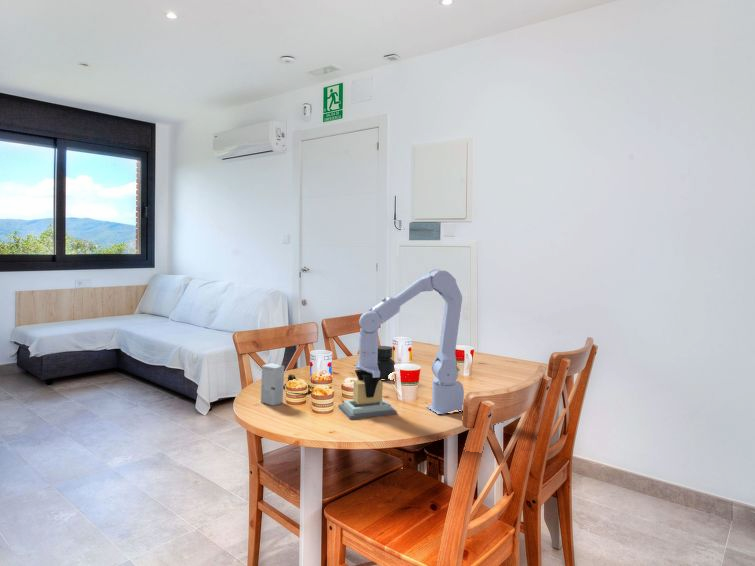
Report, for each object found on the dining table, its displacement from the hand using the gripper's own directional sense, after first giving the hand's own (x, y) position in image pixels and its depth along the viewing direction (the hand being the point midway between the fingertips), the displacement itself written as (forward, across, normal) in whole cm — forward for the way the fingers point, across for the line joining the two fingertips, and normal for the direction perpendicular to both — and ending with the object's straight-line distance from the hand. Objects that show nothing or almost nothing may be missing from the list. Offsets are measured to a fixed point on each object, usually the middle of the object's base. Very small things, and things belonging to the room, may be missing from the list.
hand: (367, 394), depth 147 cm
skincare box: (+5, -17, -26) cm, 32 cm away
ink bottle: (+5, -34, +20) cm, 40 cm away
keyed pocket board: (+5, 0, 0) cm, 5 cm away
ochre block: (+2, 0, 0) cm, 2 cm away
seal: (+6, -30, -15) cm, 33 cm away
